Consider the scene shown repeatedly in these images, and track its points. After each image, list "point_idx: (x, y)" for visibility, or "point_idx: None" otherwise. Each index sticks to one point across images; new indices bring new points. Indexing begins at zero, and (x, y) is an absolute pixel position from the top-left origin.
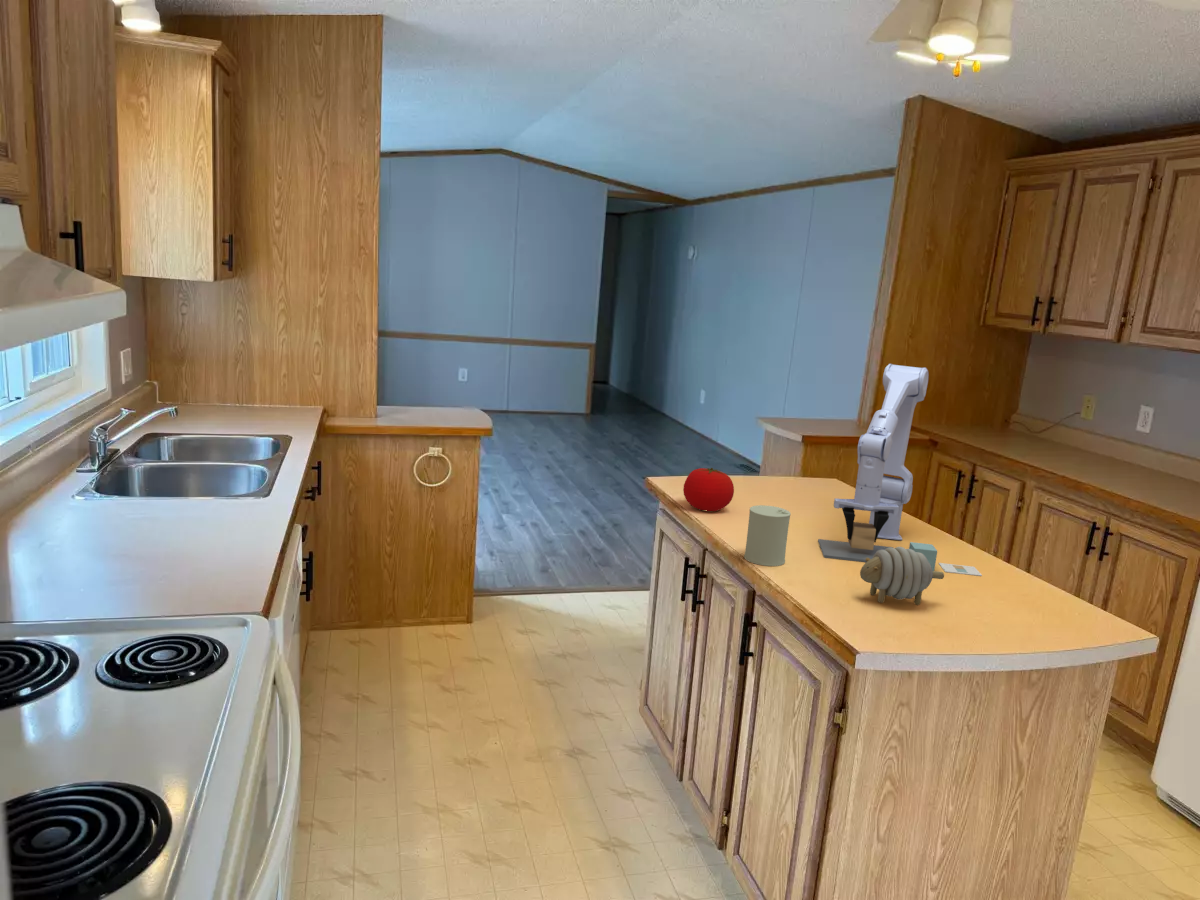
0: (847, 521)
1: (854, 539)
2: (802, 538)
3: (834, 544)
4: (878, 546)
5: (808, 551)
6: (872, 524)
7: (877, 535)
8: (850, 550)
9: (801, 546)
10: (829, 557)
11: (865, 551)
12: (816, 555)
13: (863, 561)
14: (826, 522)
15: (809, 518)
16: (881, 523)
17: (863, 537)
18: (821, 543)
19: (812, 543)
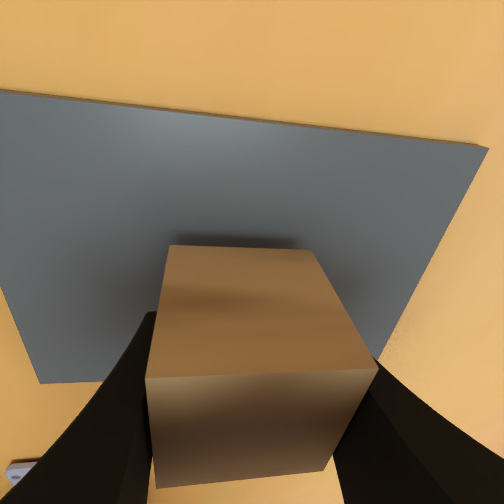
0: (457, 428)
1: (318, 284)
2: (412, 369)
3: None
4: None
5: (493, 229)
6: (158, 480)
7: (127, 350)
8: None
9: (479, 286)
10: (452, 142)
11: None
12: (494, 175)
13: (252, 119)
14: (258, 496)
15: (297, 500)
16: (55, 490)
17: (258, 300)
18: (388, 326)
19: (404, 333)
